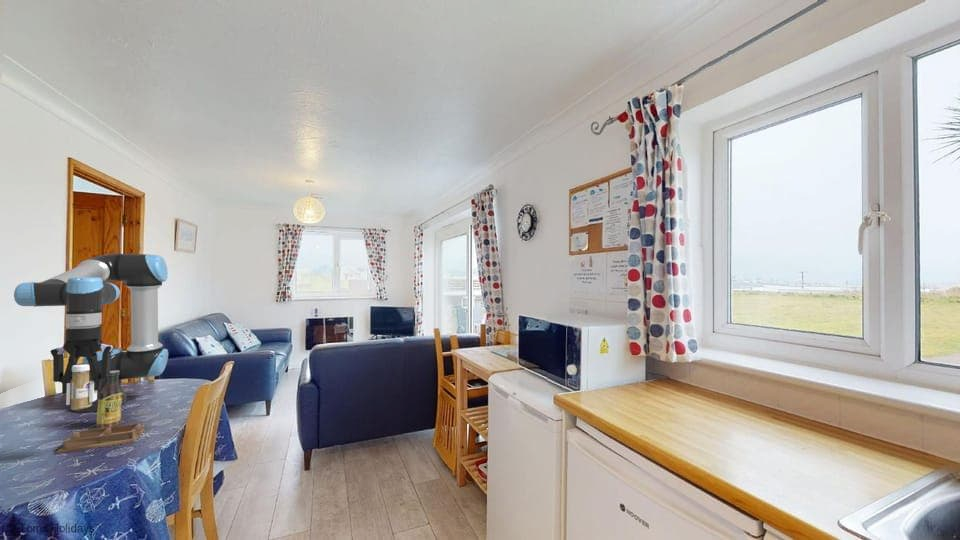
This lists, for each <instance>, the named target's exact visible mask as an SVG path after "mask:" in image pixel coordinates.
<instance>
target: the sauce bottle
mask: <svg viewBox="0 0 960 540" xmlns="http://www.w3.org/2000/svg"><path fill="white" fill-rule="evenodd" d="M119 375H120V371H110V375H109V376H107V377H105V382H104V386H103V387H102V388H101V390H100V392H99V399H98V410H97V411H96V429H98V428H106V427H113V426H120V423H121V419H122V405H123V404H122V394H123V393H122V390H121V386H122V385H121V386H120V385H119Z"/></svg>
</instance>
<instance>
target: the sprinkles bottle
mask: <svg viewBox="0 0 960 540" xmlns="http://www.w3.org/2000/svg"><path fill="white" fill-rule="evenodd" d="M71 371H72V380H71V381H72V385H71V404H70V409H71V410H72V411H74V410H79V409H84V408H88V407H90V406H92V402H90V403H89V390H90V381H92V373H91V370H90V366H89V363H77V364H76V365H73V366H72V370H71Z"/></svg>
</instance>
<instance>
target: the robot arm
mask: <svg viewBox="0 0 960 540" xmlns="http://www.w3.org/2000/svg"><path fill="white" fill-rule="evenodd" d="M168 274H169V272H168V266H167V262H166V260H165V258H163V257H162V256H161V255H159V254H150V253H148V254H147V253H146V254H145V253H109V254H103V255H98V256H95V257H91V258H88V259H85V260H83V261H81V262H80V263H78V264H77V266H76V267H74V268H71V269H69V270H67V271H64V272H62V273H60V274H58V275H55V276H53V277H51V278H48V279H47V280H43V281H40V282H35V281H31V282H21V283H19V284H17V285H16V287H15V289H14V291H13V298H14V301H15V303H16V304H17V305H18V306H21V307H34V308H35V307H60V306H62V307H63V306H64V307H65V306H66V307H65V327H67V328H66V329H65V335H64V337H65V339H64V341H65V342H64V344H63V346H62V347H56V348H53V349H50V354H51V357H52V362H53V365H52V368H53V369H52V371H53V373H52V374H53V378H52V379H53V380H52V381H53V382H54V383H58V382H59V383H61V384H62V390H61V391H62V392H61V393H62V394H66V397H65V399H66V400H65V401H66V403H65V405H66V406H69V405H70V406H71V385H72V371H71V370H72V366H73V365H76V364H78V362H79V360H80V358H82V361H81V362H82V363H89V366H90V370H91V373H92V381H90V390H89V403H90V402H92V406H90V407H88V408H84V409H79V410H73V411H74V412H76V413H93V412H97V410H98V399H99V392H100V390H101V388H102V387H103V386H104V382H105V377H107V376H109V375H110V371H120V375H119V385H120V386H121V390H122V393H123V394H122V405H125V404H126V403H127V394H126V392H125V390H124V388H123V386H122V380H130V379H139V378H152V377H157V376H158V377H159V376H160V375H162V374H163V372H164V371H165V369H166V366H167V363H168V359H169V350H168V349H167V348H164V345H163V344H162V343H161V342H160V341H159V305H158V304H159V296H158V295H159V294H158V293H159V291H158V290H159V288H161V287H162V286H163V283H164V282H166V281H167V280H168ZM112 282H125V287H126V288H128V290H130V324H131V325H130V328H131V329H130V331H131V333H130V334H131V338H130V339H131V343H130V345H129V346H128V347H127V348H126V351H123V348H119V347H118V348H114V347H115V346H114V345H113V344H110V345H109V344H105V343H104V342H103V341H102V327H101V325H102V323H103V320H102V318H103V313H102V311H103V310H102V309H103V305H104V306H106V305H108V304H109V305H110V304H111V303H114V302H115V301H116V300H118V299H119V297H120V294H121V291H120V289H119V287H118V286H117V285H116V284H114V283H112ZM100 349H101V350H100ZM65 352H66V353H67V354H68V355H69V356H68V359H67V361H68V362H67V365H66V368H64V367H65V366H64V364H65V362H64V358H65V357H64V354H65ZM64 369H65V370H64ZM125 402H126V403H125Z"/></svg>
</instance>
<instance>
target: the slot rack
mask: <svg viewBox="0 0 960 540" xmlns="http://www.w3.org/2000/svg"><path fill="white" fill-rule="evenodd" d="M147 428H148V427H147V426H143V422H136V423H130V424H121V425H116V426H113V427H106V428H92V429H84V430H78V431H76V432H74V434H72V435H70V436H69V437H68V438H67V439H65V440H63V441H62V447H60V448H59V449H58V450H56V451H55V455H62V454H69V453H74V452H81V451H88V449H89V450H93V448H95V449H100V448H99V447H102V448H107V447H106V446H108V447H114V446H113V445H115V446H121V445H120V444H122V445H127V444H126V443H128V444H132V442H133V443H135V442H136V440H137V439H138V438H139V437H140V436H141V435H143V433H144V432H145V431H146V430H147Z"/></svg>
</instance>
